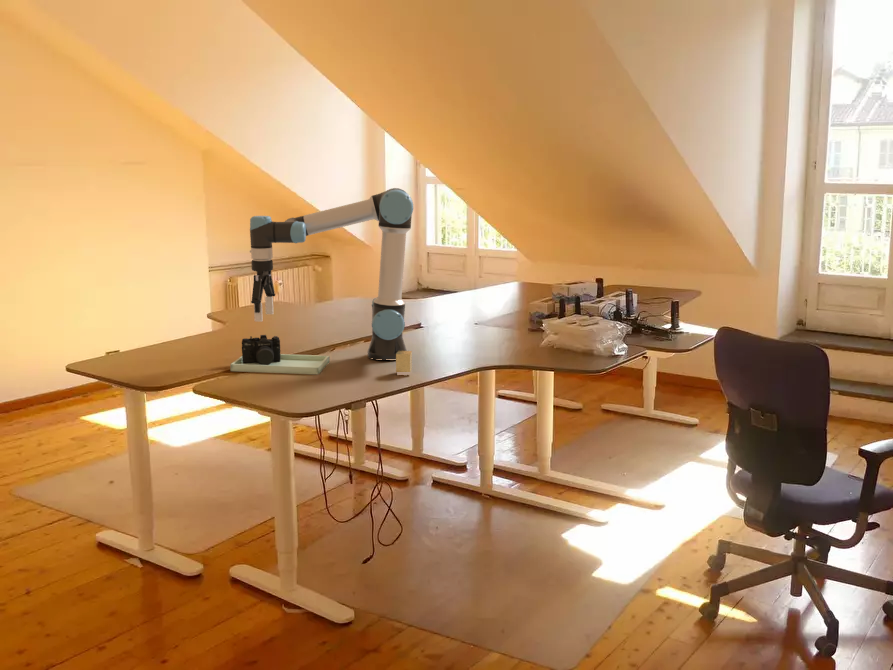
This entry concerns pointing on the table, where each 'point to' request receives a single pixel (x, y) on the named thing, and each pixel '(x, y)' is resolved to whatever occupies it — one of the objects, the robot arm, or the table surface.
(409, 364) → the brass block
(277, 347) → the camera
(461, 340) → the table surface
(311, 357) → the tray
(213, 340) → the table surface
